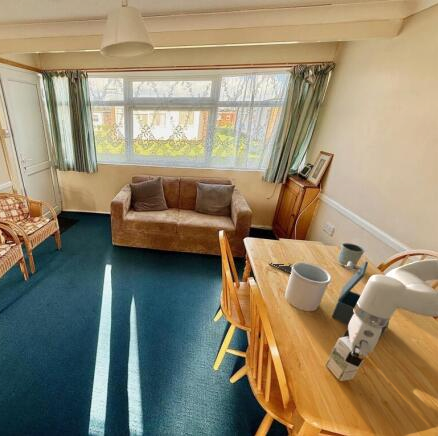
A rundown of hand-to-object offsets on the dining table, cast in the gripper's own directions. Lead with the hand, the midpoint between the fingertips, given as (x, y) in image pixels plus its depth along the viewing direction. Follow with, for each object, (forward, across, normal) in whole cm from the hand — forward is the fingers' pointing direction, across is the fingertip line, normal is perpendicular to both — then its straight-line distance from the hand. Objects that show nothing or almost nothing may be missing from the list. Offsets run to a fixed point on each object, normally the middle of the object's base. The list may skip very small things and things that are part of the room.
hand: (349, 351), depth 75 cm
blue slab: (-6, +34, -2) cm, 35 cm away
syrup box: (+11, 0, 0) cm, 11 cm away
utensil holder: (+11, +32, +13) cm, 36 cm away
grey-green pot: (+11, +83, -8) cm, 84 cm away
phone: (+11, +58, +23) cm, 63 cm away
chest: (+11, +33, -8) cm, 36 cm away
